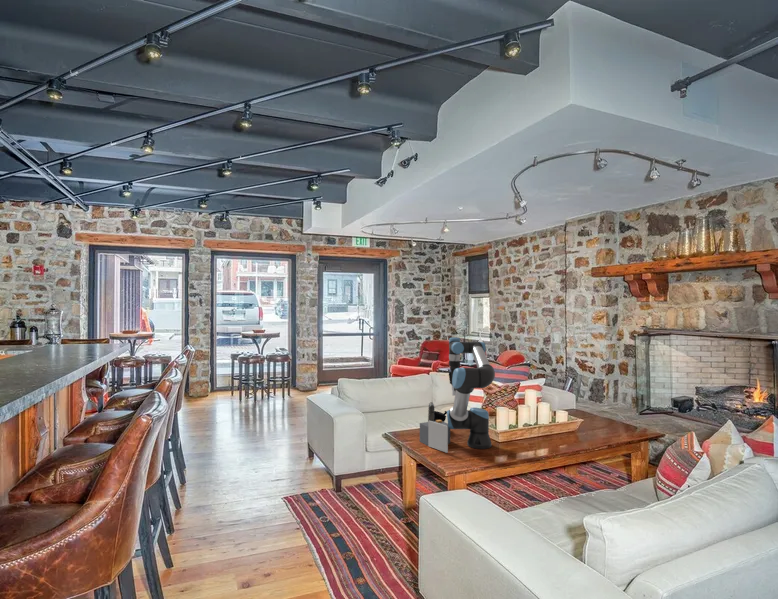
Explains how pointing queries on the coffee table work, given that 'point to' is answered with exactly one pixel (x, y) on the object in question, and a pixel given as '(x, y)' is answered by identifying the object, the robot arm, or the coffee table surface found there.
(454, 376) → the robot arm
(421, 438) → the grey box
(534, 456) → the coffee table surface
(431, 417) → the vintage camera
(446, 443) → the grey square panel
